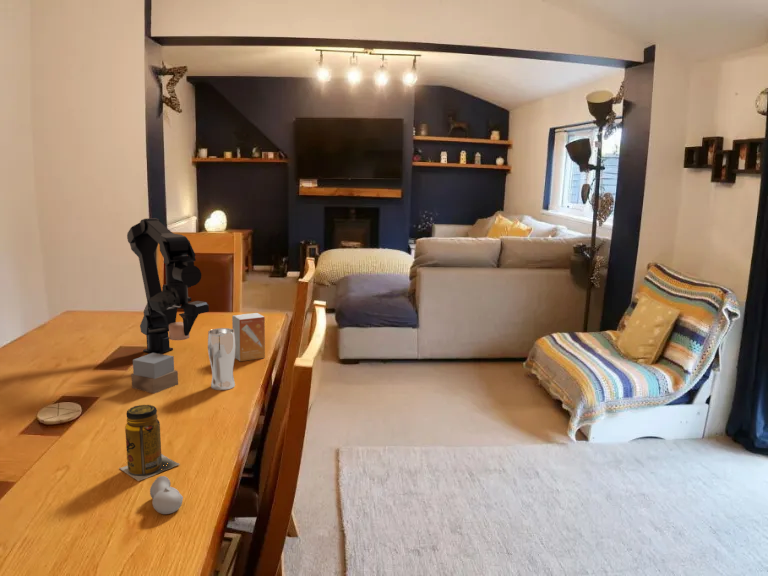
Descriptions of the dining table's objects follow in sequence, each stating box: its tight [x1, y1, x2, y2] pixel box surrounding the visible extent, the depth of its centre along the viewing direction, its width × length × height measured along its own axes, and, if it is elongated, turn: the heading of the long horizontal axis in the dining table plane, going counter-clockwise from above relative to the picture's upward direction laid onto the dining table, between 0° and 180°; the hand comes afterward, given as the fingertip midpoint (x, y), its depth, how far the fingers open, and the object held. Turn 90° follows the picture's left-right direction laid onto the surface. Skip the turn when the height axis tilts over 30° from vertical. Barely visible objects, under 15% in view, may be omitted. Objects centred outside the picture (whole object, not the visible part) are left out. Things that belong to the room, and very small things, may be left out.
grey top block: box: [132, 353, 175, 379], centre depth 155 cm, size 7×7×4 cm
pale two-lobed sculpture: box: [149, 475, 184, 515], centre depth 101 cm, size 4×8×5 cm
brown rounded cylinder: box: [168, 321, 190, 341], centre depth 172 cm, size 6×6×4 cm
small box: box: [231, 312, 266, 362], centre depth 181 cm, size 8×6×13 cm
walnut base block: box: [130, 369, 179, 394], centre depth 156 cm, size 8×8×4 cm
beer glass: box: [207, 327, 236, 391], centre depth 156 cm, size 7×7×15 cm
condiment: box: [119, 404, 180, 482], centre depth 113 cm, size 7×8×12 cm
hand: (179, 334), depth 172 cm, fingers closed on brown rounded cylinder, 5 cm apart
